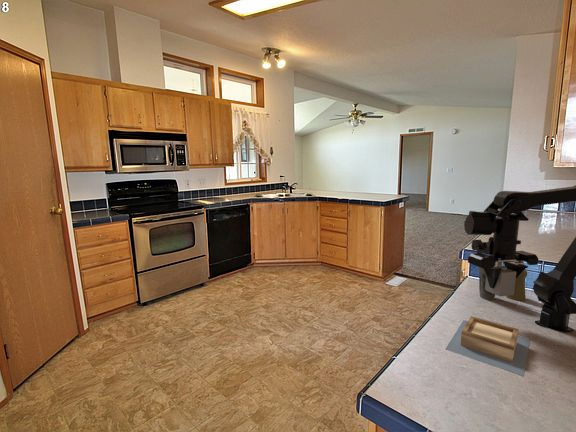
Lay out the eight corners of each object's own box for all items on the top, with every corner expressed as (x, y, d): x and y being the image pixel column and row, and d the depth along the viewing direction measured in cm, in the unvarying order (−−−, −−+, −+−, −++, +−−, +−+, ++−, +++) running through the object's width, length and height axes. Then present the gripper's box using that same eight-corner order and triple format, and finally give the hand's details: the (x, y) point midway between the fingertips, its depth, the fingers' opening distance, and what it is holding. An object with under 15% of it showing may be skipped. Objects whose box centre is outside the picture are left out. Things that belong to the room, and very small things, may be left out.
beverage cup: (499, 303, 108) (505, 246, 105) (474, 298, 111) (480, 244, 108) (498, 295, 114) (504, 242, 111) (475, 291, 118) (480, 239, 114)
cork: (529, 301, 109) (533, 271, 107) (509, 300, 110) (513, 270, 109) (520, 294, 115) (523, 265, 113) (501, 293, 116) (505, 264, 114)
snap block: (499, 288, 95) (501, 263, 94) (513, 295, 90) (516, 269, 89) (484, 289, 94) (487, 264, 93) (498, 296, 89) (501, 270, 88)
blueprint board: (463, 322, 94) (463, 320, 94) (529, 341, 84) (530, 338, 84) (444, 351, 79) (445, 348, 79) (523, 379, 69) (523, 376, 69)
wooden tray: (469, 328, 89) (470, 316, 89) (517, 342, 82) (518, 329, 82) (460, 345, 81) (461, 331, 80) (512, 362, 74) (514, 347, 73)
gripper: (508, 228, 99) (503, 276, 101) (456, 231, 95) (452, 279, 98) (542, 236, 88) (536, 289, 91) (486, 239, 85) (480, 293, 87)
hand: (499, 287), depth 92 cm, fingers closed on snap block, 5 cm apart
